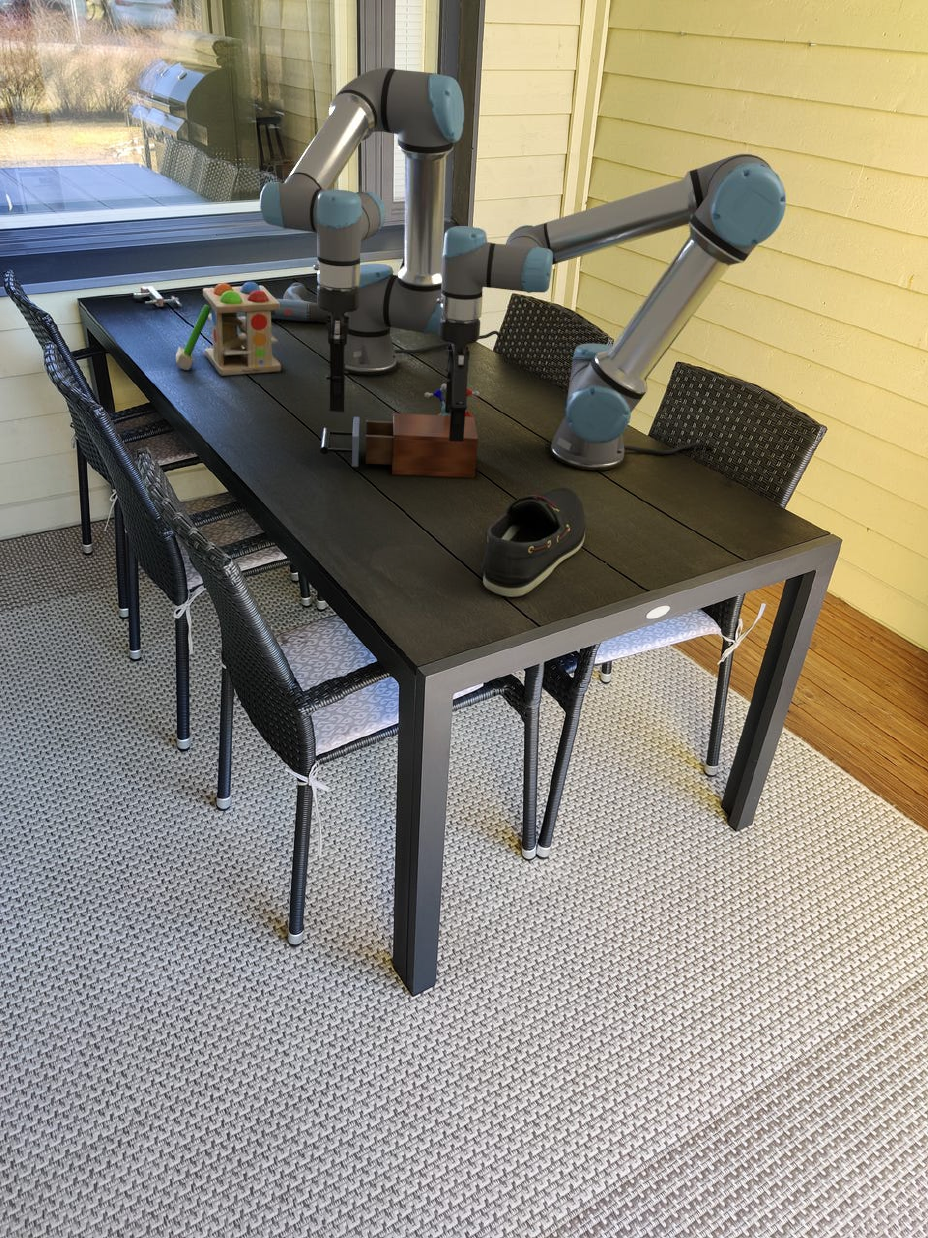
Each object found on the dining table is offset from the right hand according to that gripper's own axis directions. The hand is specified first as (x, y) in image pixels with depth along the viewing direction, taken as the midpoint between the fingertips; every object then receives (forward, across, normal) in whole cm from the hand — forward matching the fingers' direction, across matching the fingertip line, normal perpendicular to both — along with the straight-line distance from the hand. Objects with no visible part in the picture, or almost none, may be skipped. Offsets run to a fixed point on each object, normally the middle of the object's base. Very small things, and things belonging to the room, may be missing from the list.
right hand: (453, 426), depth 191 cm
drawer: (+7, 0, -15) cm, 17 cm away
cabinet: (+8, 0, -4) cm, 9 cm away
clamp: (+6, -92, -74) cm, 118 cm away
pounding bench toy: (+7, -48, -50) cm, 70 cm away
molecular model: (+8, -21, +1) cm, 23 cm away
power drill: (+7, -91, -34) cm, 98 cm away
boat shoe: (+9, +33, +12) cm, 37 cm away
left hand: (-3, 0, -23) cm, 23 cm away
